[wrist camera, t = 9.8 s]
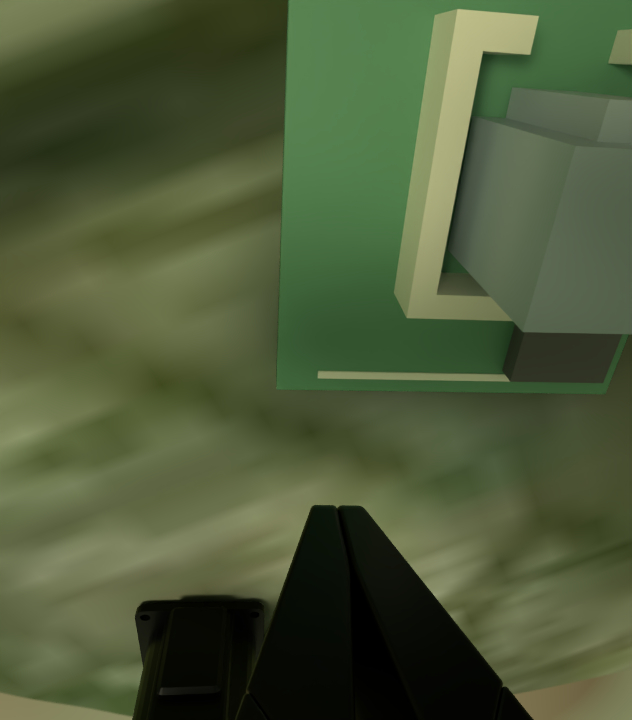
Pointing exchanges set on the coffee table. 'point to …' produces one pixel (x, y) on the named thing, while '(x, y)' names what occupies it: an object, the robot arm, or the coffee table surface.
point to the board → (419, 190)
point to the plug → (551, 211)
